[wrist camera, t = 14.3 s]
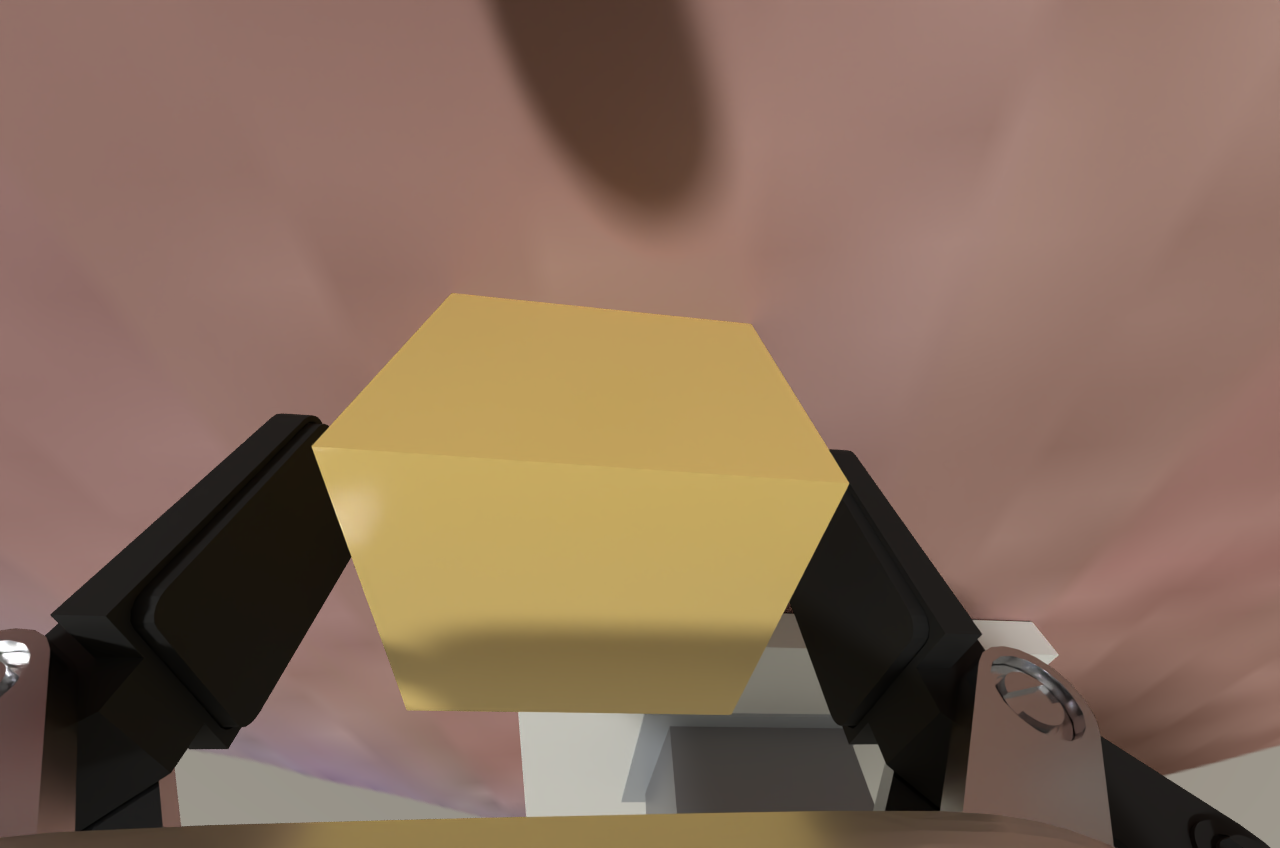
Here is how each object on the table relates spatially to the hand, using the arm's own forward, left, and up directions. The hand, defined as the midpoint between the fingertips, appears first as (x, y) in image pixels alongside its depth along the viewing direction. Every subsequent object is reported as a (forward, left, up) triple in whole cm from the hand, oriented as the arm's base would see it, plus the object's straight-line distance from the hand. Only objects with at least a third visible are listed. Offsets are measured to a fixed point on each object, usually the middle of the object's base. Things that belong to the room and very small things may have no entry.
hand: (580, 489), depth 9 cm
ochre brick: (0, 0, -2) cm, 2 cm away
